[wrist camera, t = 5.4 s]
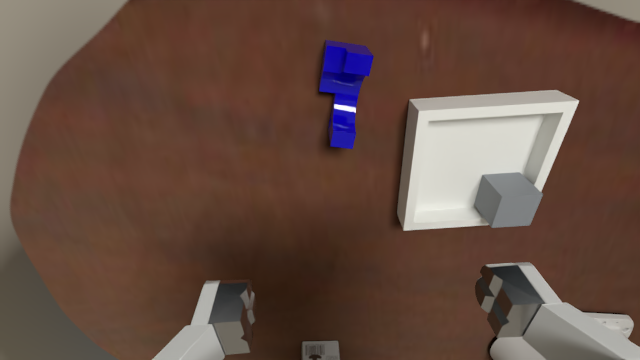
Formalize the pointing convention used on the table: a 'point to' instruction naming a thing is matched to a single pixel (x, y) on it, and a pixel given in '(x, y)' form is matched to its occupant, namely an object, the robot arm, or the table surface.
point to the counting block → (507, 199)
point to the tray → (475, 151)
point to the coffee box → (320, 350)
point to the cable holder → (343, 87)
